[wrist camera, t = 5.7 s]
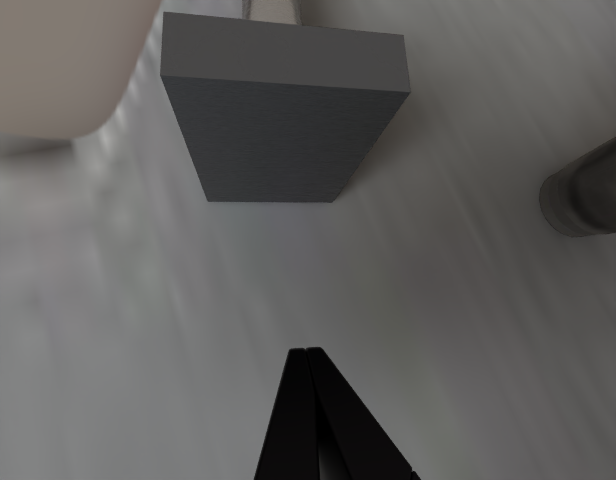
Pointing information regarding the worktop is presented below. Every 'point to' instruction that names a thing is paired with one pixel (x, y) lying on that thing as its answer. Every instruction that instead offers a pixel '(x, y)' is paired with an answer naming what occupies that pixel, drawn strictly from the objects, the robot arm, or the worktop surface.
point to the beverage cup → (583, 194)
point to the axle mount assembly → (278, 100)
